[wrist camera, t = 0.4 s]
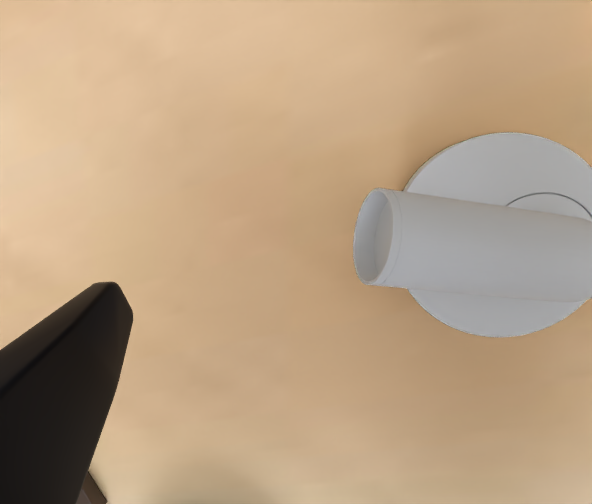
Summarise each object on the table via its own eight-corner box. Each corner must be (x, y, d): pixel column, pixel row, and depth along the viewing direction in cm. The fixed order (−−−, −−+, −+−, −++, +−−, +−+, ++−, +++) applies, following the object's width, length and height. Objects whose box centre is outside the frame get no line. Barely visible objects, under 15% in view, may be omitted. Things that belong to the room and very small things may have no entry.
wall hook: (376, 83, 12) (811, 139, 10) (382, 119, 21) (614, 151, 20) (322, 375, 14) (685, 464, 12) (350, 292, 23) (558, 336, 21)
